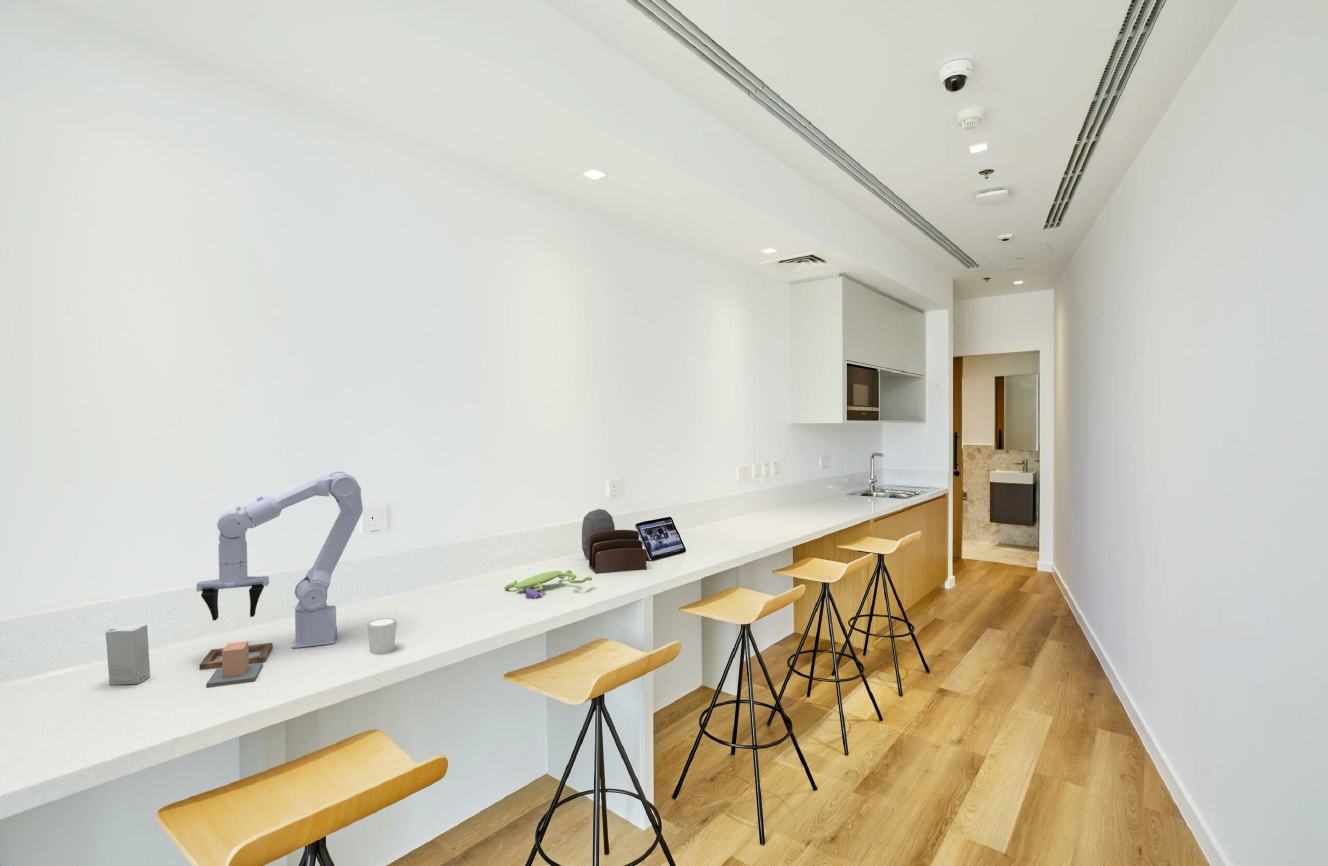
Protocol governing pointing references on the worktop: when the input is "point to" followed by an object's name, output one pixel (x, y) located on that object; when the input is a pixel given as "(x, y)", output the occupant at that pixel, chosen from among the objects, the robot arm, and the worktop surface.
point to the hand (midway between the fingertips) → (234, 617)
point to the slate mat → (247, 677)
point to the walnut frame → (264, 654)
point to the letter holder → (616, 551)
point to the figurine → (541, 579)
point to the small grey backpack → (595, 526)
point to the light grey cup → (381, 635)
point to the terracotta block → (235, 659)
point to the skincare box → (128, 654)
